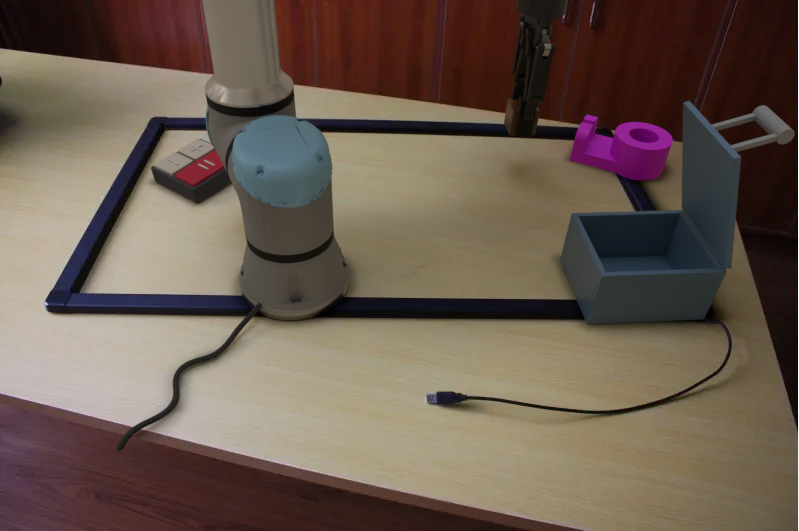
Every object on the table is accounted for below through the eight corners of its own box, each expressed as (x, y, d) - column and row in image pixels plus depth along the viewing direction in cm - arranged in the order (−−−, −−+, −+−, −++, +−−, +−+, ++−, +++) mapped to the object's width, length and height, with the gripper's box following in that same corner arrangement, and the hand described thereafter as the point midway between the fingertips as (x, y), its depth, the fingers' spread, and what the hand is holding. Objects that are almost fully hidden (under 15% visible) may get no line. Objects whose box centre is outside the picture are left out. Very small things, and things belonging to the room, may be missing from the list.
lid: (734, 158, 71) (816, 136, 70) (683, 102, 81) (754, 82, 80) (725, 269, 83) (795, 252, 81) (681, 207, 93) (743, 191, 92)
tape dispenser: (666, 160, 120) (677, 130, 116) (656, 186, 114) (667, 155, 109) (582, 138, 126) (589, 109, 121) (568, 162, 119) (575, 131, 115)
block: (509, 135, 109) (513, 111, 106) (503, 122, 112) (507, 98, 109) (535, 135, 109) (540, 111, 106) (529, 122, 112) (533, 98, 109)
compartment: (586, 324, 87) (602, 276, 81) (559, 259, 97) (571, 212, 92) (703, 319, 89) (727, 271, 83) (664, 256, 99) (683, 209, 93)
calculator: (148, 163, 108) (215, 125, 116) (154, 184, 110) (219, 145, 119) (192, 186, 103) (258, 144, 112) (198, 207, 106) (262, 164, 115)
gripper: (507, -33, 101) (488, 103, 116) (534, 5, 88) (508, 153, 103) (554, -32, 102) (528, 103, 117) (587, 6, 89) (554, 153, 104)
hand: (519, 127), depth 110 cm, fingers closed on block, 4 cm apart
